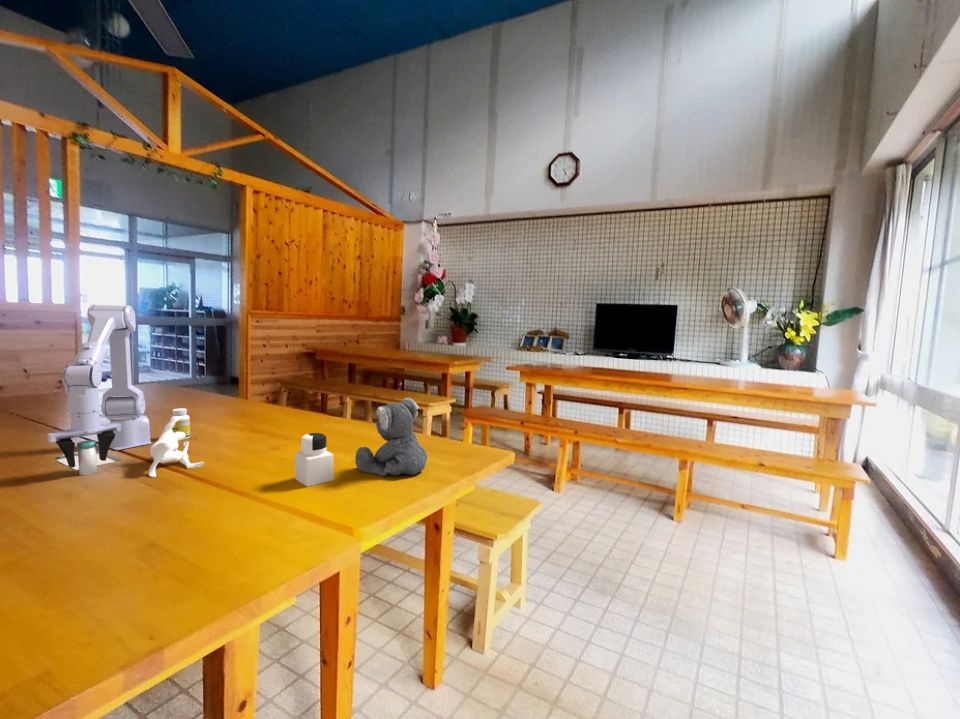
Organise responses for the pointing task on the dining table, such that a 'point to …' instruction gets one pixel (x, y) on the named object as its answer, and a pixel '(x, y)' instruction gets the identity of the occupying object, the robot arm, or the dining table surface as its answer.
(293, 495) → the dining table surface
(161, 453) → the person figurine
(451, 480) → the dining table surface
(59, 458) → the green striped bar
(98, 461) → the white rectangular slab
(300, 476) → the medicine bottle
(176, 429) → the supplement bottle
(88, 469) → the white teal cylinder
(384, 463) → the koala plush
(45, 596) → the dining table surface
